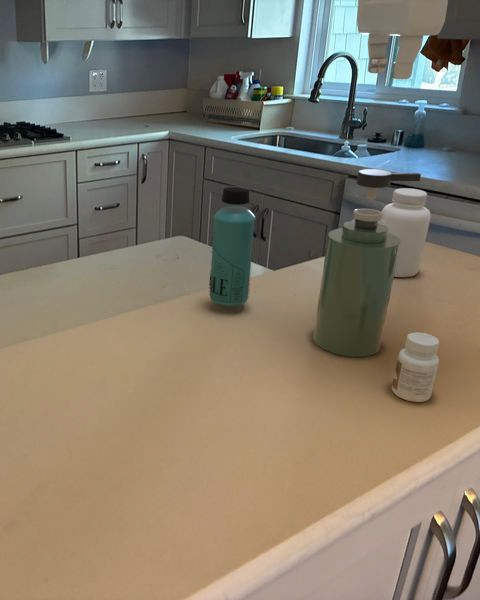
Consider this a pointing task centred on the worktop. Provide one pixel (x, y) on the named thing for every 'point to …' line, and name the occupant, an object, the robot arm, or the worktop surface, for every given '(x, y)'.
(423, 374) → the pill bottle
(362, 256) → the dispenser
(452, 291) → the worktop surface
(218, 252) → the beverage bottle
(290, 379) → the worktop surface
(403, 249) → the pill bottle
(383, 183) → the pump head
